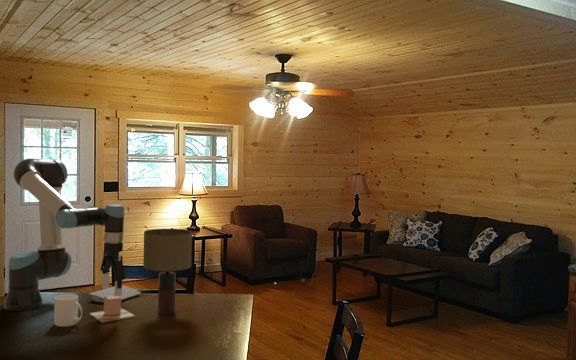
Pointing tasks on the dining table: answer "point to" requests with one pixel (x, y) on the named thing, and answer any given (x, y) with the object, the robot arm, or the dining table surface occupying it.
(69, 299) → the mug
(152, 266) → the lamp
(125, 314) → the board
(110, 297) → the pink rectangular block
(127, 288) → the book
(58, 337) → the dining table surface
